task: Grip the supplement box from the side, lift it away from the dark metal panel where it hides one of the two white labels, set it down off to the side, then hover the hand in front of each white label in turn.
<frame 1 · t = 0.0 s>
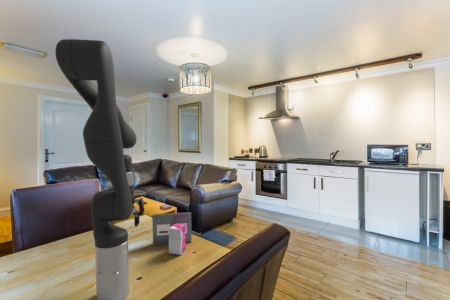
hand: (124, 226, 84), 17 cm above the table, tool pointing down, fingers open, 8 cm apart
label panel: (172, 242, 109), on the table
supplement box: (177, 252, 99), on the table
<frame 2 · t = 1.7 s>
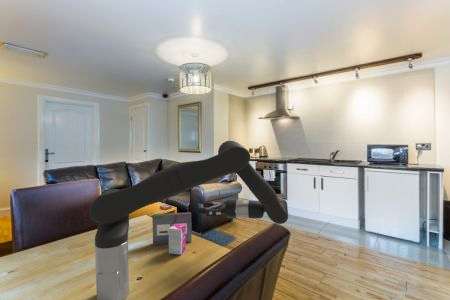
hand: (200, 207, 97), 20 cm above the table, tool horizontal, fingers open, 8 cm apart
nothing on the table moved.
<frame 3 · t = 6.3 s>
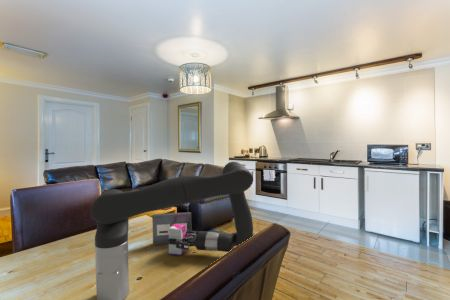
hand: (172, 238, 100), 6 cm above the table, tool horizontal, fingers closed on supplement box, 5 cm apart
supplement box: (177, 252, 99), on the table, touching gripper
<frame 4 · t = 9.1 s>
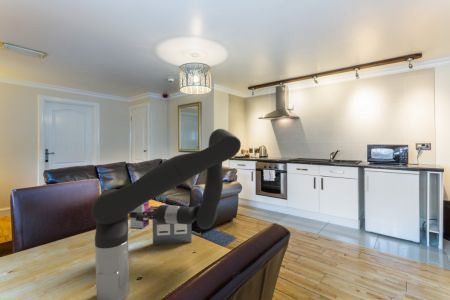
hand: (134, 212, 99), 18 cm above the table, tool horizontal, fingers closed on supplement box, 5 cm apart
supplement box: (140, 227, 99), point 12 cm above the table, touching gripper
when the fingers open (7 cm above the table, at t = 12.0 s): supplement box drops 1 cm, on the table.
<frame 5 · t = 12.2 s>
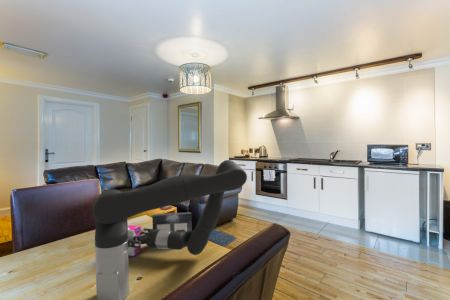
hand: (126, 236, 99), 7 cm above the table, tool horizontal, fingers open, 7 cm apart
supplement box: (131, 253, 99), on the table
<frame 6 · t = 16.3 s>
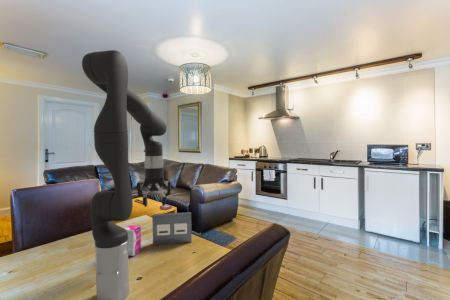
hand: (154, 205, 95), 22 cm above the table, tool pointing down, fingers open, 6 cm apart
nothing on the table moved.
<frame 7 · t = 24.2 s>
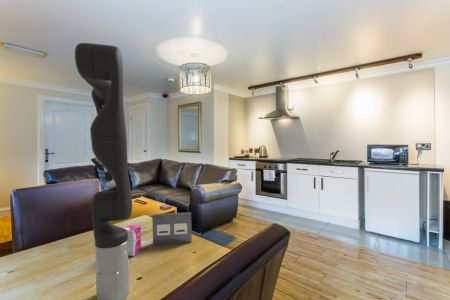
hand: (109, 181, 91), 33 cm above the table, tool pointing down, fingers closed
nothing on the table moved.
at the end: supplement box inside the target area (0.3 cm from its centre), on the table; supplement box tilted 0°; the gripper is holding nothing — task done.
